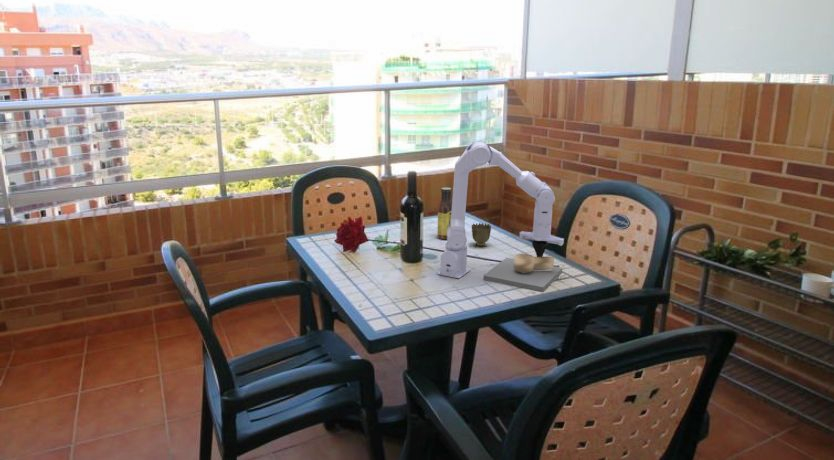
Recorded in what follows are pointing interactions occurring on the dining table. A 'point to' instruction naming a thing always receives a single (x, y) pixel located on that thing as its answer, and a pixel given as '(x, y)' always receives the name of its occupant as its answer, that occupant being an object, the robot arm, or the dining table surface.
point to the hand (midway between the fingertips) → (539, 261)
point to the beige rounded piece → (531, 262)
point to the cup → (481, 233)
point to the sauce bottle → (444, 213)
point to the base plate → (522, 276)
